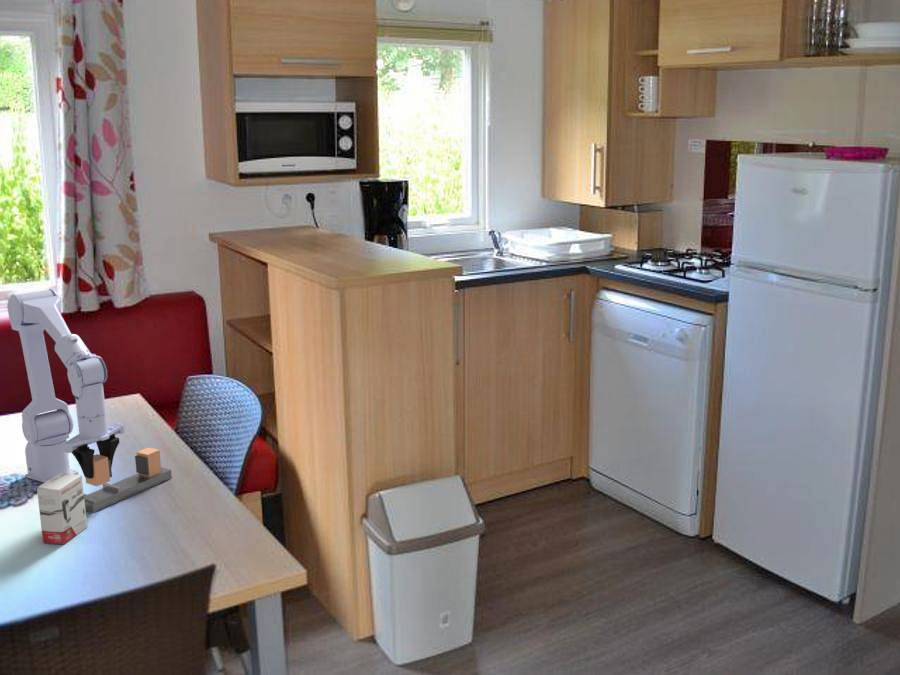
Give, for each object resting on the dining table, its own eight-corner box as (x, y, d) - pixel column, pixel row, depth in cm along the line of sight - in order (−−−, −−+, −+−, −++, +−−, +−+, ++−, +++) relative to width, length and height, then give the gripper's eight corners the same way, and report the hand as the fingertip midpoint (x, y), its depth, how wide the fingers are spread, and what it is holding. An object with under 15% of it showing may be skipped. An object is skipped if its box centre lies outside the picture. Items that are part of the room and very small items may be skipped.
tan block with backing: (86, 483, 204) (83, 459, 203) (101, 476, 207) (99, 453, 206) (96, 486, 202) (94, 462, 201) (112, 479, 205) (110, 456, 204)
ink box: (64, 545, 187) (57, 489, 184) (42, 543, 187) (35, 488, 185) (88, 526, 195) (83, 473, 192) (67, 524, 196) (61, 471, 193)
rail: (78, 507, 204) (76, 494, 203) (156, 473, 222) (155, 461, 222) (93, 512, 201) (92, 499, 201) (171, 477, 220) (170, 465, 219)
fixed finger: (136, 475, 216) (134, 452, 215) (150, 469, 219) (148, 447, 218) (147, 478, 214) (145, 455, 213) (161, 472, 218) (159, 450, 216)
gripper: (75, 426, 193) (82, 488, 196) (131, 407, 205) (137, 466, 208) (52, 421, 197) (60, 482, 200) (109, 402, 209) (115, 460, 212)
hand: (97, 473), depth 204 cm, fingers closed on tan block with backing, 4 cm apart
